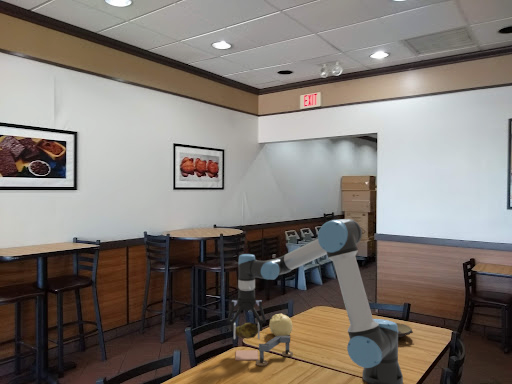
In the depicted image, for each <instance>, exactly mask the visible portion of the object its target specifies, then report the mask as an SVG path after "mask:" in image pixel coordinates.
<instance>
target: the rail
mask: <svg viewBox="0 0 512 384" xmlns="http://www.w3.org/2000/svg"><path fill="white" fill-rule="evenodd" d="M279 344H285V347H284V348H285V350H283V351H282V352H281V356H283V357H286V358H289V357H290V358H291V357H293V356H294V352H293V351H290V344H291V336H290V335H287V336H274V337H273V338H271V339H270V340H268V341H267V342H265V343H258V352H259V359H258V360H255V365H256V366H258V367H265V366H268V360H266V359H265V355H264V354H265V353H264V352H270V351H271V350H272V349H274V348H275V347H277V346H278V345H279Z"/></svg>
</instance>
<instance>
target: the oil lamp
mask: <svg viewBox="0 0 512 384" xmlns="http://www.w3.org/2000/svg"><path fill="white" fill-rule="evenodd" d="M395 323H396V324H397V326H398V338H401V337H402V338H403V337H405V336H409V335H410V334H413V333H414V331H413V329H412V328H411V326H410V325H406V324H405V323H404V324H403V323H397V322H395Z"/></svg>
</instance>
